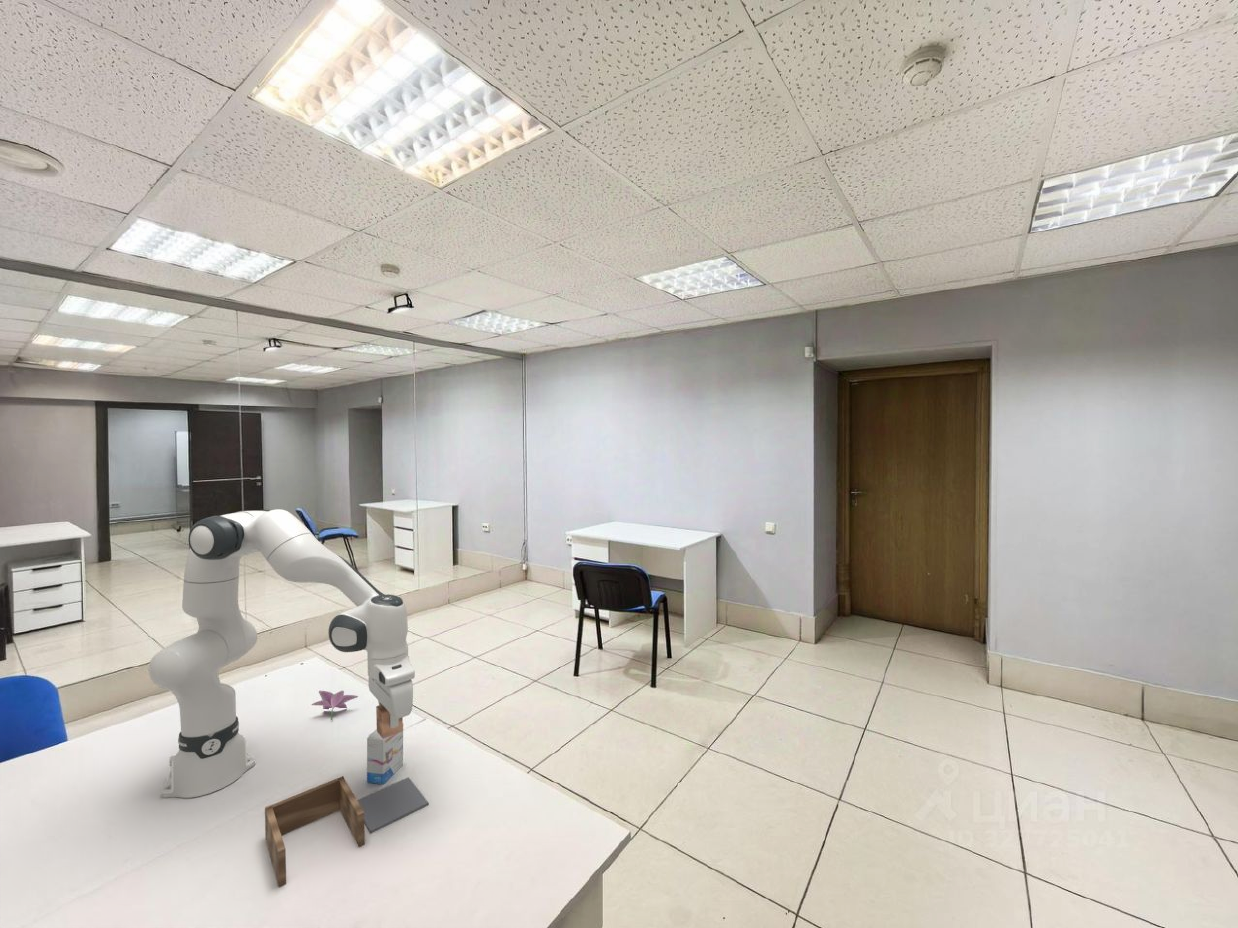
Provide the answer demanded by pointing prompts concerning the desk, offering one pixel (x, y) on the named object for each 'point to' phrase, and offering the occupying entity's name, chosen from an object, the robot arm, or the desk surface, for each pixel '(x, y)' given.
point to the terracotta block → (386, 723)
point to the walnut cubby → (310, 817)
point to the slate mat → (391, 804)
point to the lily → (333, 700)
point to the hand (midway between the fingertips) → (389, 721)
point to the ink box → (383, 756)
